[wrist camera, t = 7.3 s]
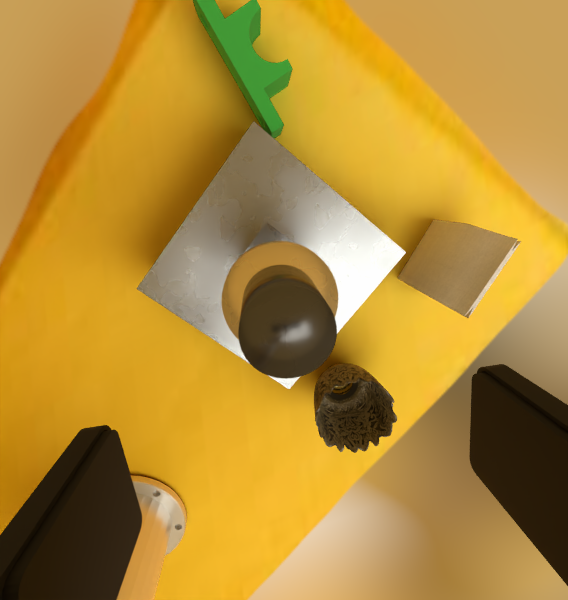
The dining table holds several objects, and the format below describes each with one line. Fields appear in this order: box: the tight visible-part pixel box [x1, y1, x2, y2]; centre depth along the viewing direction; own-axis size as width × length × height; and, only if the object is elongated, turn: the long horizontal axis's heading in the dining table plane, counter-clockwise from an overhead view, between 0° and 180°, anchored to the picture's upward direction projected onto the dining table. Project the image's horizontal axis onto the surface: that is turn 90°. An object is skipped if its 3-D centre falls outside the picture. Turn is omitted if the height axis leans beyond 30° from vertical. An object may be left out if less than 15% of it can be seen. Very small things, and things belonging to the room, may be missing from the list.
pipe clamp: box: [193, 0, 292, 138], centre depth 28 cm, size 11×4×5 cm, turn 31°
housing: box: [137, 121, 406, 389], centre depth 32 cm, size 16×16×6 cm
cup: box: [314, 364, 397, 453], centre depth 35 cm, size 8×7×8 cm
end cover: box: [222, 241, 338, 379], centre depth 21 cm, size 7×7×11 cm
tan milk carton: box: [398, 220, 521, 318], centre depth 31 cm, size 4×7×10 cm, turn 152°
